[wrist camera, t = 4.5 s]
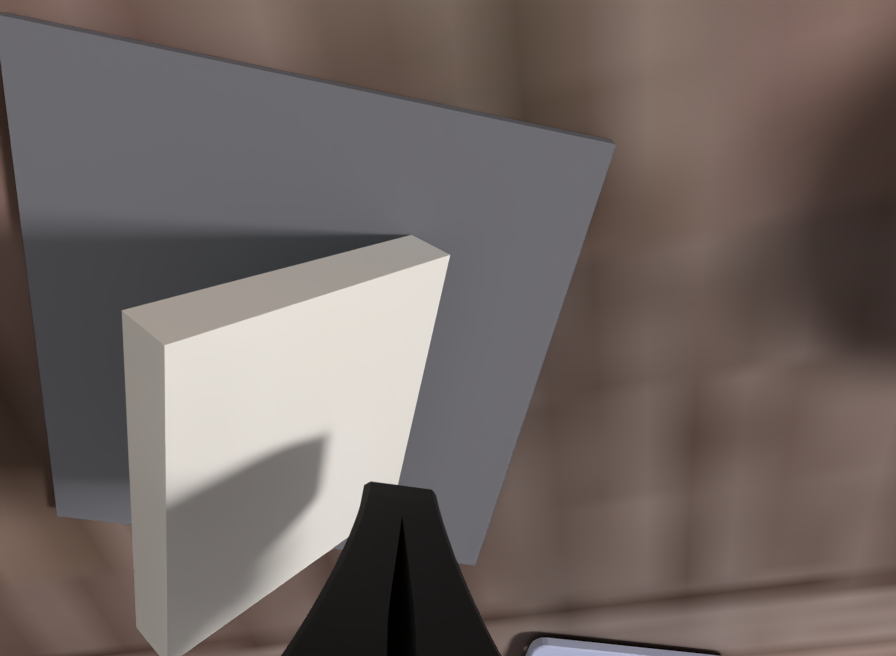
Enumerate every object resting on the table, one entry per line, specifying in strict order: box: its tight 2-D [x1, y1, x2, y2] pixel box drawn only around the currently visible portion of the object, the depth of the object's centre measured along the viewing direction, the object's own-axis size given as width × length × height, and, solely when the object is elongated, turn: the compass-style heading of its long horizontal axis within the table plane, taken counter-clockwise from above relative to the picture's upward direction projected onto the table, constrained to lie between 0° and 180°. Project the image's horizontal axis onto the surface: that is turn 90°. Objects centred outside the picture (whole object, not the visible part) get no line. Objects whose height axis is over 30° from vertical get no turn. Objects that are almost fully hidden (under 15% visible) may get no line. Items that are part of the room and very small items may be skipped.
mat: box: [0, 13, 616, 565], centre depth 17 cm, size 14×13×1 cm
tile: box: [122, 235, 450, 656], centre depth 15 cm, size 8×1×7 cm
